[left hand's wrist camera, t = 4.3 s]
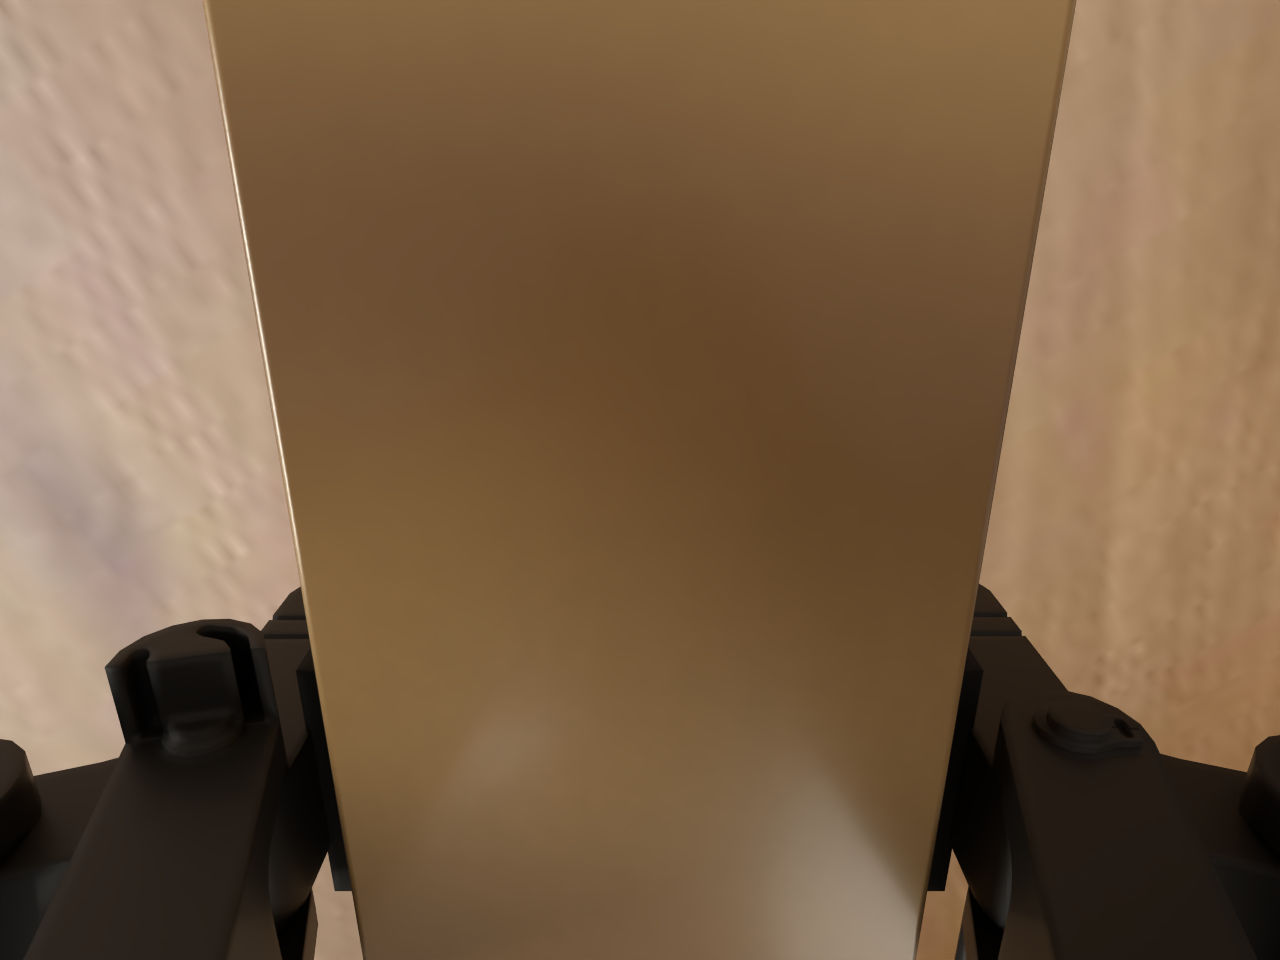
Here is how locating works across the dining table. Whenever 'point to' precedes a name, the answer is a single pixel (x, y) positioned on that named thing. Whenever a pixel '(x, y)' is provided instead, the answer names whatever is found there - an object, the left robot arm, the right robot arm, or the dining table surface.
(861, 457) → the bar
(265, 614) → the dining table surface
